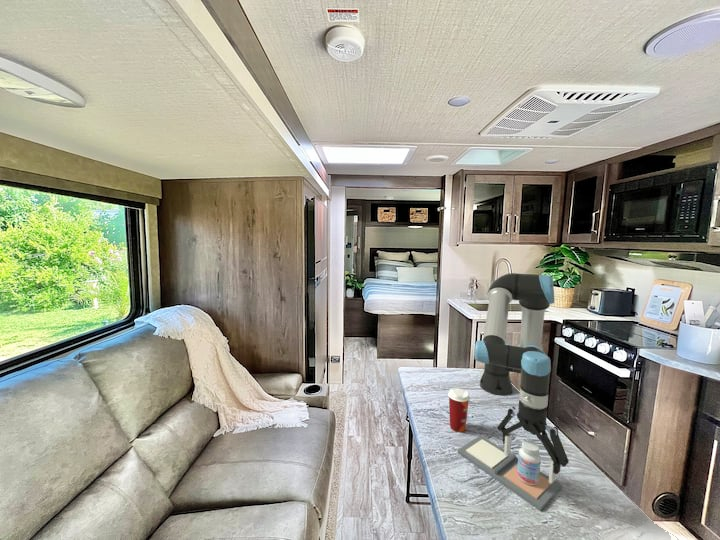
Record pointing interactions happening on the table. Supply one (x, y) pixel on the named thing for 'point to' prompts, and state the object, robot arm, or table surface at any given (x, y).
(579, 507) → the table surface
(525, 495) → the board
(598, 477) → the table surface
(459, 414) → the coffee cup
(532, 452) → the pill bottle
